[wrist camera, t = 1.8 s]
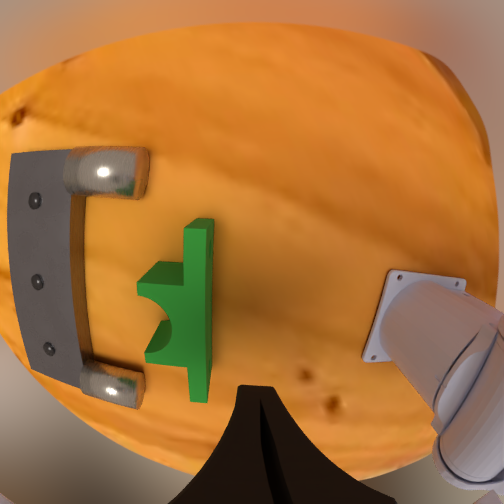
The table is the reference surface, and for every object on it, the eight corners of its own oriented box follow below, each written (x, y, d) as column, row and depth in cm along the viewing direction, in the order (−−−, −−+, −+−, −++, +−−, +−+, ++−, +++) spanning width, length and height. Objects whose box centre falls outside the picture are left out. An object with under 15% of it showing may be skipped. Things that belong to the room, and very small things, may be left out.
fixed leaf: (152, 150, 16) (134, 143, 13) (146, 392, 20) (136, 417, 17) (27, 152, 15) (2, 150, 12) (41, 360, 19) (25, 376, 16)
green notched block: (158, 216, 17) (134, 225, 13) (214, 218, 18) (206, 227, 13) (165, 361, 20) (151, 398, 15) (212, 365, 20) (207, 404, 16)
